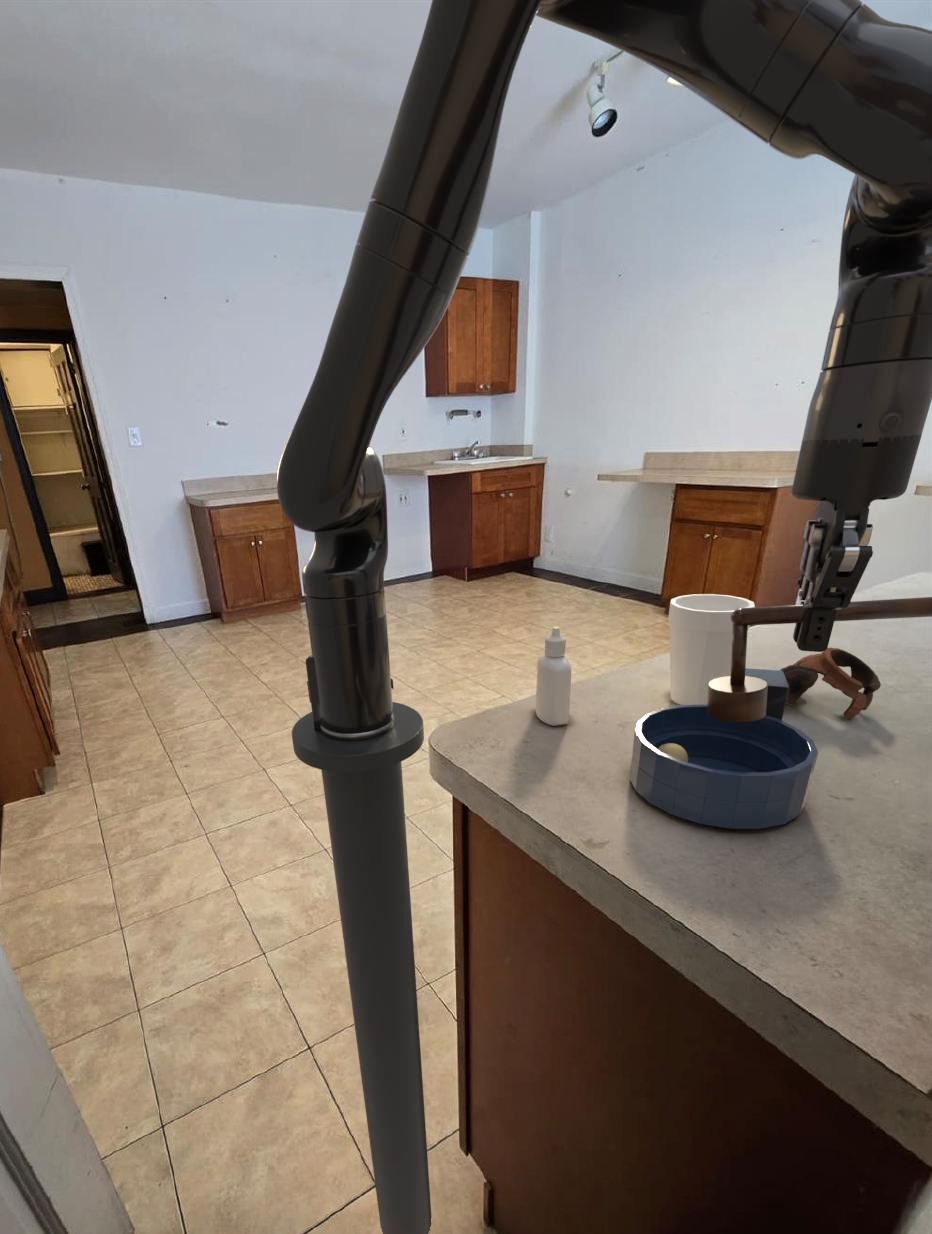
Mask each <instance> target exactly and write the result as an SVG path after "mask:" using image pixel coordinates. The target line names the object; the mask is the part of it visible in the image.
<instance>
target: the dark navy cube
mask: <svg viewBox="0 0 932 1234" xmlns="http://www.w3.org/2000/svg"><path fill="white" fill-rule="evenodd" d="M745 676H749V677H755V678H759V679H762V680H764V681H766V682H767V683H768V694H767V708H766V715H767V716H770V717H774V718H777V719H780V720H782V721H783V718H784V714H785V710H786V705H787V704H786V701H787V696H788V692H789V685H788V683H787V680H786V678H785V675H784V673H783V671H779V670H776V669H760V668H747V667H746V668H745Z"/></svg>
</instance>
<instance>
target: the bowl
mask: <svg viewBox="0 0 932 1234" xmlns="http://www.w3.org/2000/svg"><path fill="white" fill-rule="evenodd" d="M633 736H634V737H633V743H632V744H633V745H632V753H631V754H632V755H631V763H630V771H629V780H630V782H631V784H632V786H633V788H634V790H635V792H637V794H639V795H640V796H641V797H642V798H643V799H644V800H646V801H647V802H648V803H649V804H651V805H653V806H654V807H657V808H659V809H660V810H663V811H664V812H666V813H668V814H669V815H672V816H675V817H678V818H681V819H684V820H687V821H691V822H693V823H697V824H700V825H704V826H705V825H706V826H712V827H718V828H724V829H731V830H761V829H766V828H771V827H777V826H781V825H785V824H786V823H788V822H790V821H792V820H793V819H795V818H797V817H799V816H800V815H801V813H802V811H803V809H804V807H805V805H806V802H807V797H808V794H809V790H810V786H811V783H812V780H813V775H814V771H815V767H816V763H817V761H818V760H817V759H818V757H819V751H818V748H817V745H816V744H815V740H814V739H812V738H811V737H810V736H809V735H807V733H805V732H804V731H802V730H801V729H800V728H798V727H796V726H794V725H792V724H790V723H788V722H786V721H784V720H783V719H782V720H780V719H777V718H774V717H770V716H767V715H765V717H763V718H762V719H759V720H756V721H751V722H726V721H721V720H717V719H714V718H712V717H710V716H709V715H708V714H707V705H680V704H677V705H673V706H667V707H661V708H658V709H655V710H653V711H649V712H647V713H645V714H644V715H643V716H642V717H640V718H639V719H638V720H637V721H636V723H635V728H634V735H633ZM667 743H674V744H678V745H680V746H681V747H683V748H684V749H685V751H686V752H687V755H688V763H687V762H684V761H681V760H679V759H677V758H674V757H672V756H670V755H667V754H665V753H663V752H661V751H660V750H658V748H659V747H660V746H662V745H664V744H667Z"/></svg>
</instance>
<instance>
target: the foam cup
mask: <svg viewBox="0 0 932 1234" xmlns="http://www.w3.org/2000/svg"><path fill="white" fill-rule="evenodd" d="M754 607H756V605H755V601H752V600H750V599H748V598H745V597H739V596H735V595H729V594H717V593H716V594H715V593H695V594H686V595H685V594H684V595H678V596H676V597H673V598H671V599H670V603H669V610H668V617H667V622H668V623H669V685H670V686H669V688H670V692H669V693H670V700H671V701H673V702H674V703H675V704H677V705H707V695H708V683H709V682H710V681H711V680H713V679H716V678H720V677H725V676H731V655H732V633H733V623H732V621H731V614H732V613H733V612H734V611H735V610H737V609H739V608H754ZM751 626H752V625H748V629H749V628H750V627H751Z"/></svg>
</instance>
